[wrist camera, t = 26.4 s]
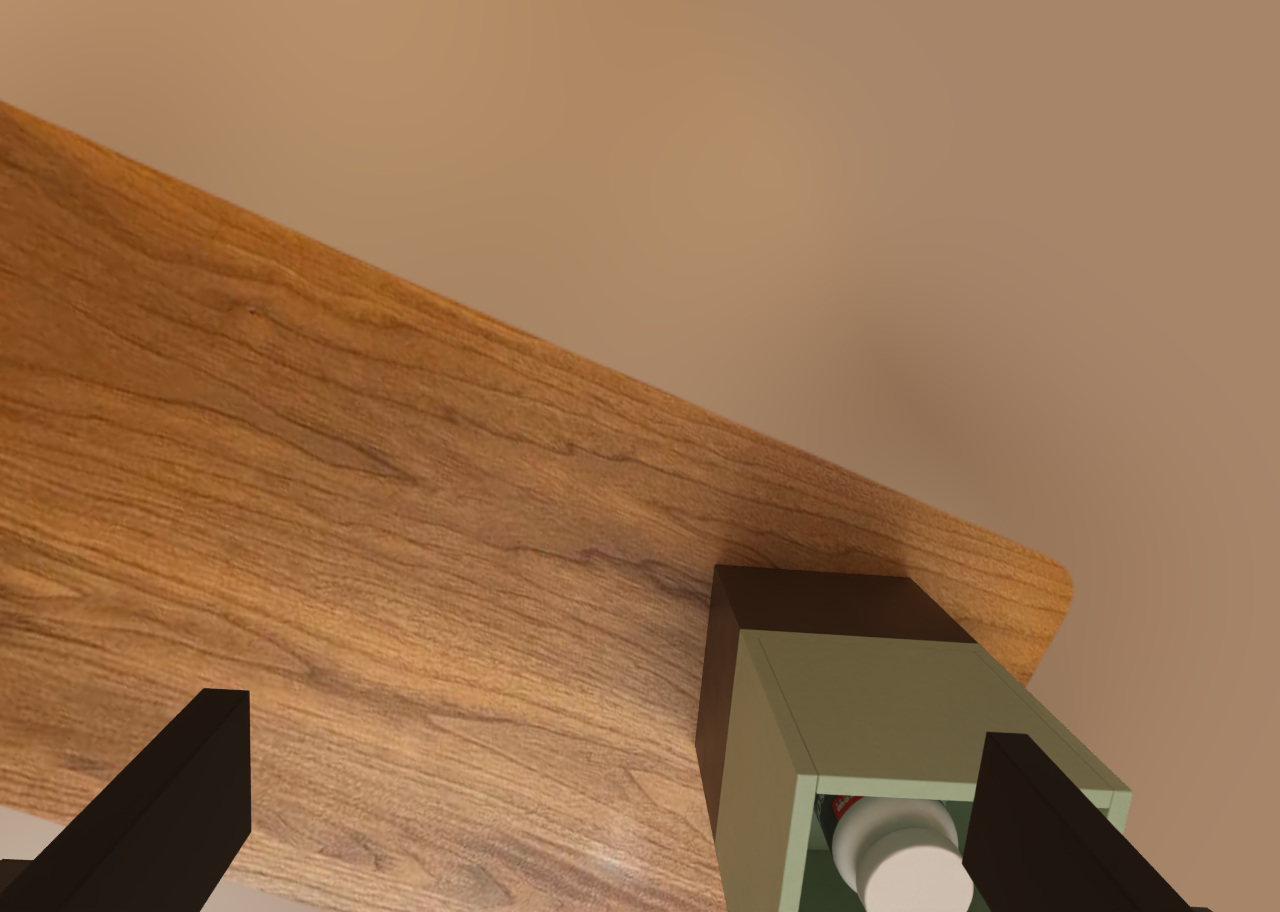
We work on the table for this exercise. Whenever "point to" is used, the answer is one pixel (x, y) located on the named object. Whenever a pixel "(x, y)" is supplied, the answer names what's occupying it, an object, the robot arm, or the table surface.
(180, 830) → the robot arm
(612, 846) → the table surface
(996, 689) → the waste bin
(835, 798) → the pill bottle
